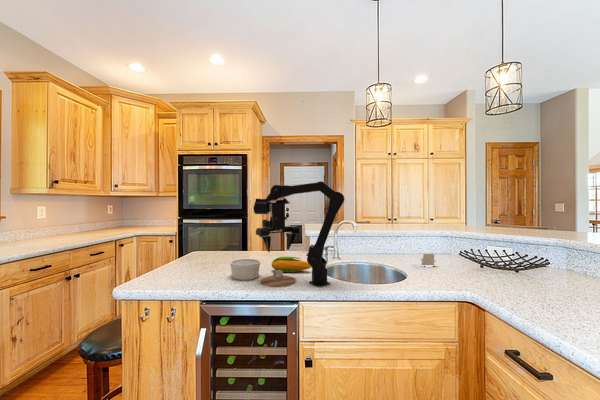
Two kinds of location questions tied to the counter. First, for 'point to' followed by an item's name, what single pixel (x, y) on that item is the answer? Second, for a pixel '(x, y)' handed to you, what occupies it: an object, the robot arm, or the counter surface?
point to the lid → (278, 280)
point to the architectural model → (428, 259)
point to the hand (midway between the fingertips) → (278, 250)
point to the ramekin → (245, 269)
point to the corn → (290, 264)
